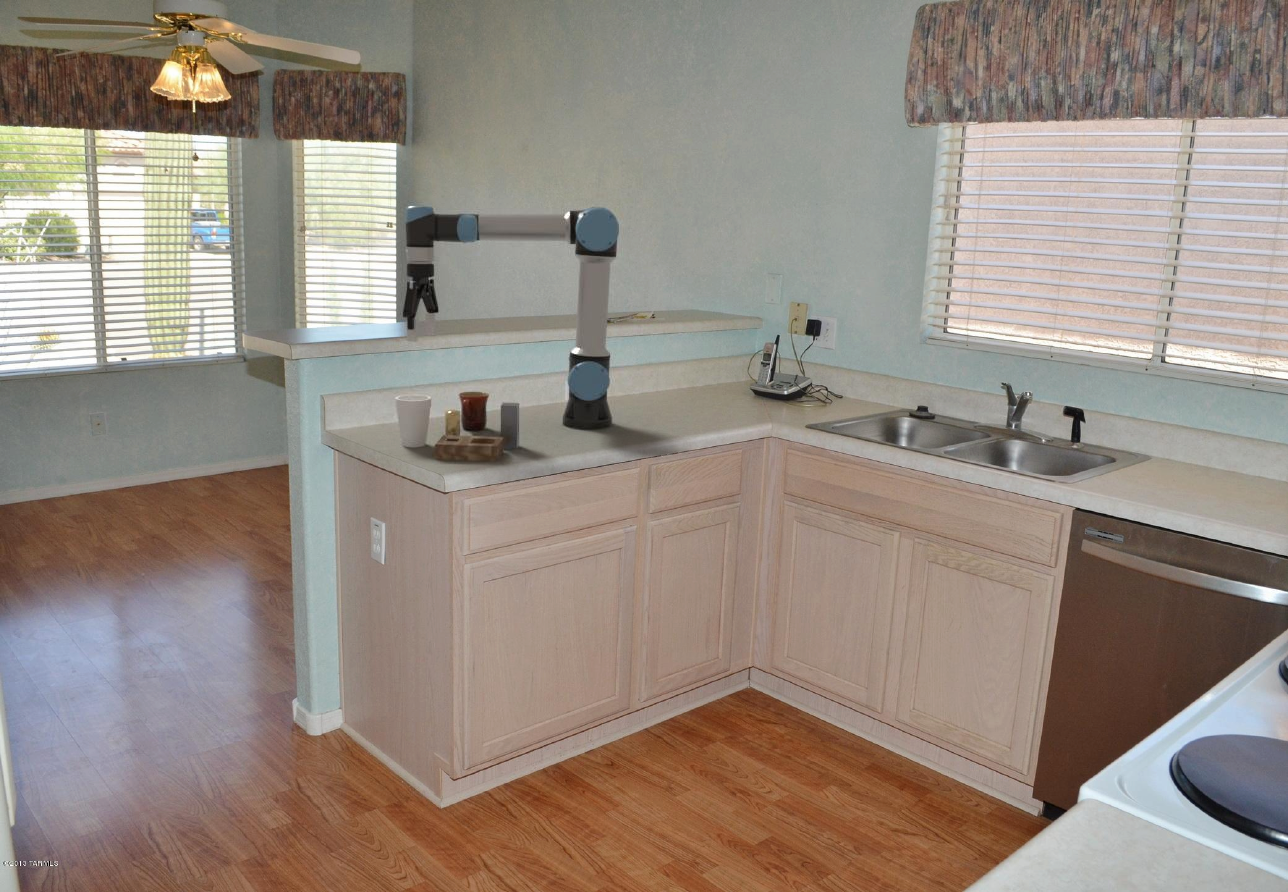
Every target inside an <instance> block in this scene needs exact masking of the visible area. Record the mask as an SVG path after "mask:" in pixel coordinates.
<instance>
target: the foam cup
mask: <svg viewBox="0 0 1288 892" xmlns="http://www.w3.org/2000/svg"><path fill="white" fill-rule="evenodd" d="M394 399H395V401H394V402H395V409H396V413H397V420H398V421H397V422H398V427H399V435H400V439H401V441H400V442H401V446H403V447H405V448H421V447H425V446H426V445H427V440H428V439H427V438H428V429H429V422H430V414H431V408H432V397H431V396H429V395H425V394H403V395H398V396H396V397H395V398H394Z"/></svg>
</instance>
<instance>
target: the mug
mask: <svg viewBox="0 0 1288 892" xmlns="http://www.w3.org/2000/svg"><path fill="white" fill-rule="evenodd" d="M489 396H490V393H488V392H484V391H464V392H460V393H459V394H458V397H459V400H460V405H461V406H460V407H461V411H460V424H461V427H462V428H463V430H466V431H481V430H484V429H485V428H486V427H487V421H488V420H487V419H488V417H487V416H488V415H487V414H488V412H487V411H488V410H487V404H488V399H489Z"/></svg>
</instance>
